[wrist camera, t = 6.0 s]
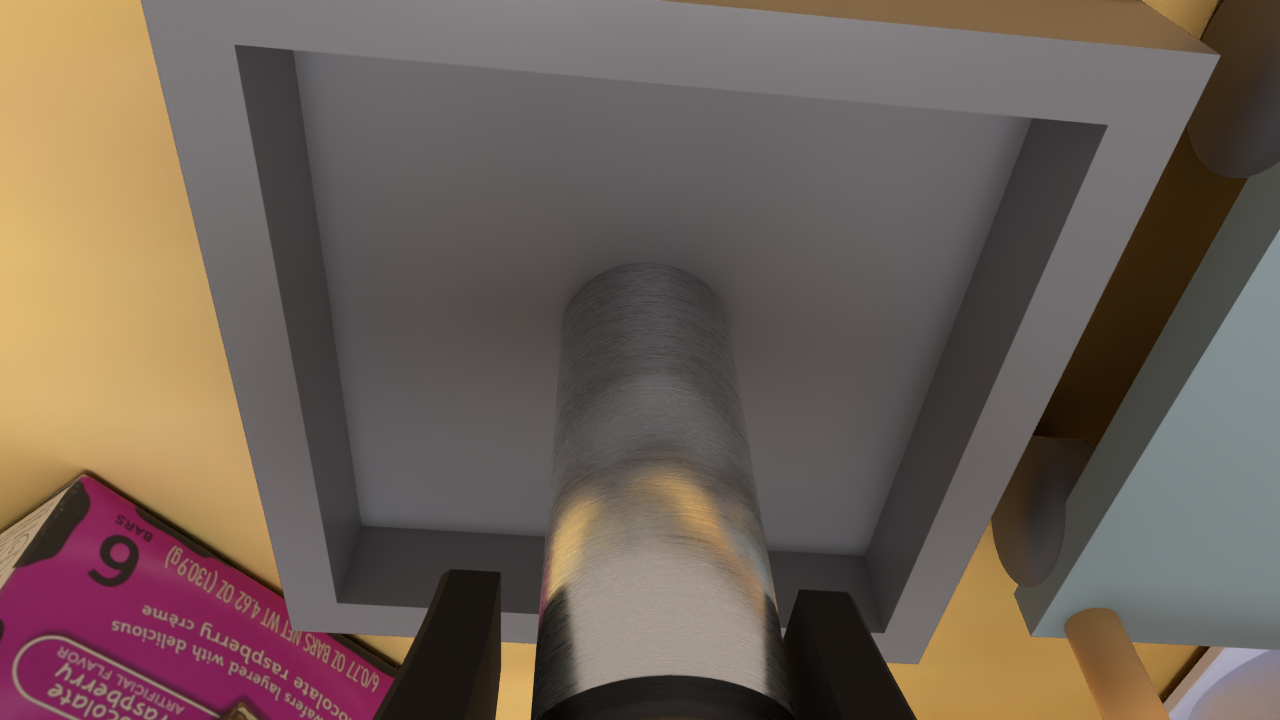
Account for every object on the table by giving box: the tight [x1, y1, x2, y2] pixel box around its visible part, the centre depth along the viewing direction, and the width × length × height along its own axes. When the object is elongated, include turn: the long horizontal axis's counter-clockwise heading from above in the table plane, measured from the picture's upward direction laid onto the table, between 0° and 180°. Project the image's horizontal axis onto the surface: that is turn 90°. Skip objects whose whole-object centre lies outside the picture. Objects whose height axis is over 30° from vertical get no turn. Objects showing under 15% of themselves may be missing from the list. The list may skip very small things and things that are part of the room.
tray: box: [141, 0, 1221, 664], centre depth 16 cm, size 13×13×3 cm
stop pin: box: [531, 263, 796, 720], centre depth 13 cm, size 3×3×9 cm
